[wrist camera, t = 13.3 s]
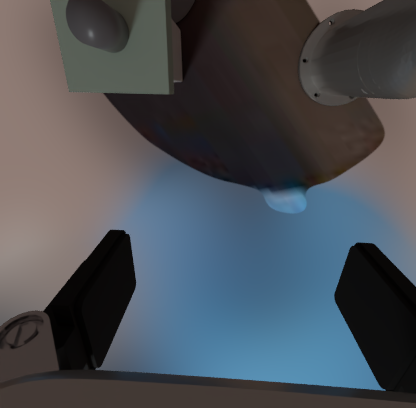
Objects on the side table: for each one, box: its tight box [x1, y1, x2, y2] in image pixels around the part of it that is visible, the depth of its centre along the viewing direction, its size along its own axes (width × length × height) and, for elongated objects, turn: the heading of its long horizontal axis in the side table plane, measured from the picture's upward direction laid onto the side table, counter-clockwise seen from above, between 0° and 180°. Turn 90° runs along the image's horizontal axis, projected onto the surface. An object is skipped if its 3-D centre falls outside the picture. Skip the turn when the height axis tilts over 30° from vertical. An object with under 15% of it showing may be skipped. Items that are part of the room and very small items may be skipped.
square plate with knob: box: [50, 0, 174, 94], centre depth 20 cm, size 10×10×7 cm
